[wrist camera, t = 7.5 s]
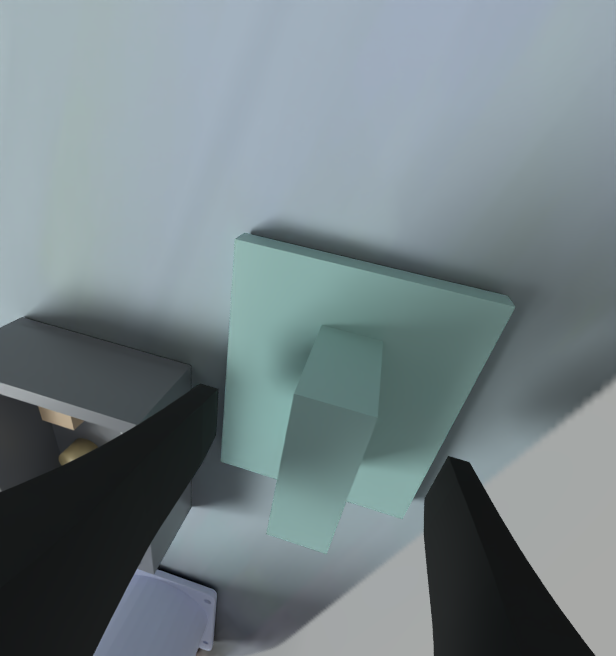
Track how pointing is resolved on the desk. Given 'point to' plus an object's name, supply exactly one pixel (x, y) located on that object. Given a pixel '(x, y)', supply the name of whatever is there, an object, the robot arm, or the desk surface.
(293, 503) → the lid
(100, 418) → the parts tub
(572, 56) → the desk surface
